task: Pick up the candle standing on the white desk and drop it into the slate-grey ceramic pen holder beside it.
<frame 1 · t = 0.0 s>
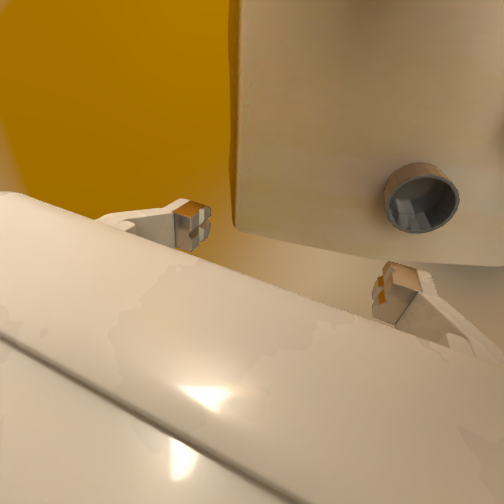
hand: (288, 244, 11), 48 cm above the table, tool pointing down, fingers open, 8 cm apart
pen holder: (413, 189, 51), on the table
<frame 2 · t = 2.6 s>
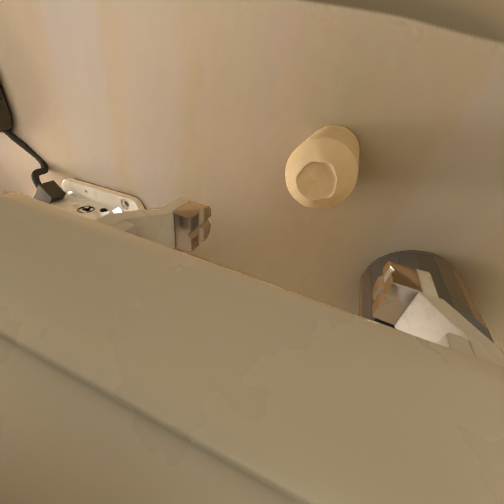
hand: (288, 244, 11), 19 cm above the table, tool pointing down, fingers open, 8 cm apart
pen holder: (407, 287, 31), on the table
candle: (331, 153, 26), on the table
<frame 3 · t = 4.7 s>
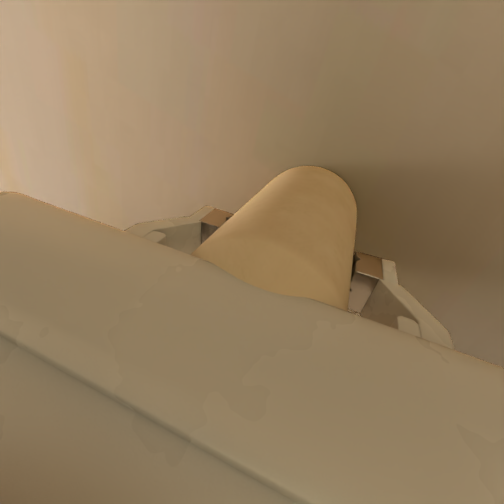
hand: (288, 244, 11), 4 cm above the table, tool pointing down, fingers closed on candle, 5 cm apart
candle: (307, 211, 15), on the table, touching gripper
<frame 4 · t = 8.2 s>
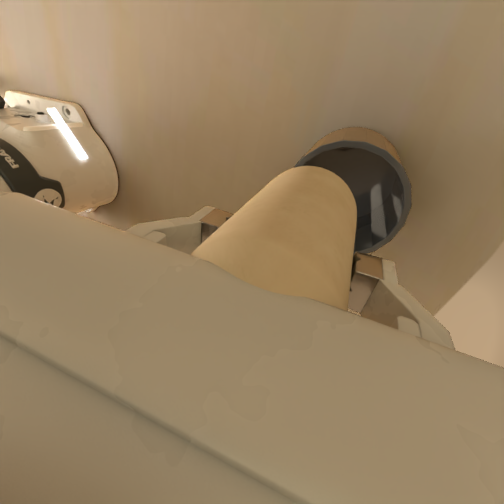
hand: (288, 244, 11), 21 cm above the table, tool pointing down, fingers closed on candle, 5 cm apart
pen holder: (347, 177, 29), on the table
candle: (307, 211, 15), point 17 cm above the table, touching gripper
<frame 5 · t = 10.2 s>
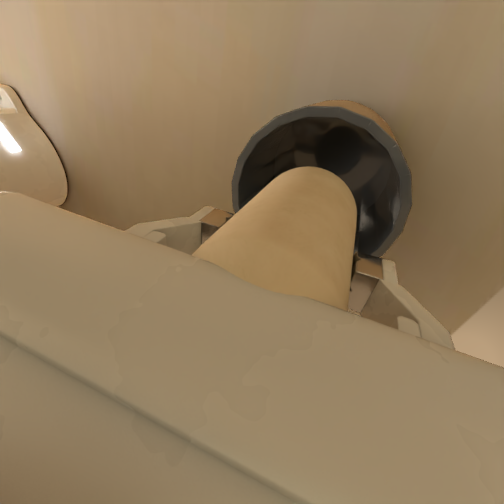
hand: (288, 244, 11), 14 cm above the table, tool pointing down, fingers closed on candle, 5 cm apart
pen holder: (328, 169, 22), on the table
candle: (307, 211, 15), point 10 cm above the table, touching gripper
when the fingers open (11 cm above the table, at t = 11.5 s): candle drops 6 cm, resting on pen holder.
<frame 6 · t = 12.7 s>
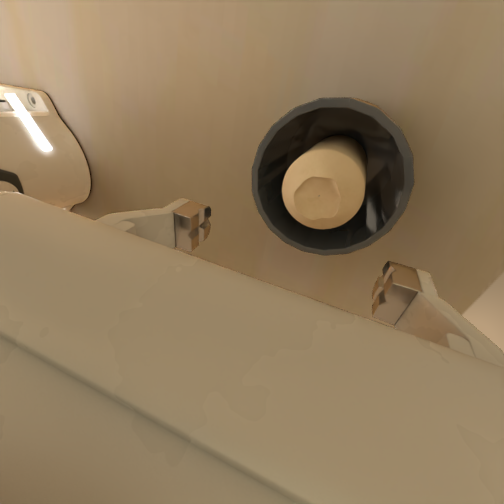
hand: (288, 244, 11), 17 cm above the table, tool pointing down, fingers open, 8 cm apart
pen holder: (337, 162, 24), on the table
candle: (335, 165, 24), point 1 cm above the table, touching pen holder
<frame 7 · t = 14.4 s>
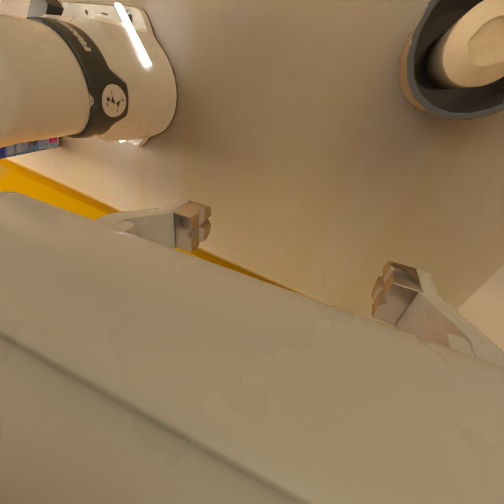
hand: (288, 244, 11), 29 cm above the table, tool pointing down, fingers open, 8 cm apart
pen holder: (457, 54, 26), on the table
candle: (457, 56, 26), point 1 cm above the table, touching pen holder
ink cartridge box: (42, 124, 53), on the table
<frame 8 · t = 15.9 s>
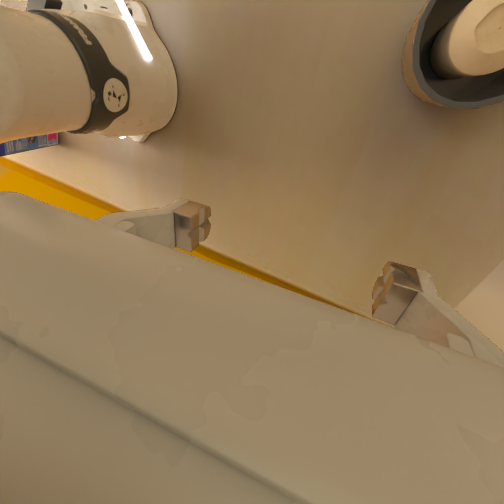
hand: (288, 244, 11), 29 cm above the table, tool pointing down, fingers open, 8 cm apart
pen holder: (461, 44, 26), on the table
candle: (461, 46, 26), point 1 cm above the table, touching pen holder
ink cartridge box: (41, 121, 53), on the table
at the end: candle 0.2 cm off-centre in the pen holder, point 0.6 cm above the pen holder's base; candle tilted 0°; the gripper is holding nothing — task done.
